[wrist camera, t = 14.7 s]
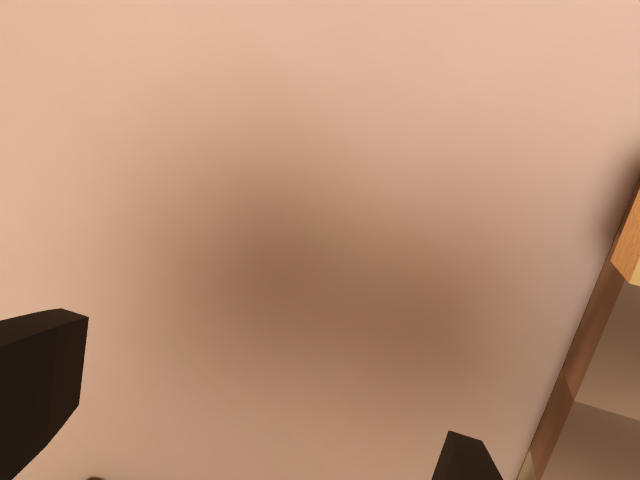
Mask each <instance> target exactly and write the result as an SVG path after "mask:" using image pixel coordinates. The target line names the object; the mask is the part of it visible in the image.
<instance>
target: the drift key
mask: <svg viewBox="0 0 640 480" xmlns="http://www.w3.org/2000/svg"><path fill="white" fill-rule="evenodd" d="M610 261H611V262H612V263H613V265H614V266H615V267H616V268H617V269H618V271H619V272H620V273H621V274H622V276H623V277H624V278H625V279H626V280H627V282H628V283H630V284H633V285H637V286H640V189H639V191H638V194H637V196H636V199H635V201H634V204H633V206H632V209H631V211H630V213H629V216H628V218H627V221H626V223H625V226H624V228H623V231H622V233H621V235H620V238H619V240H618V243H617V245H616V248H615V250H614V253H613V255H612V257H611V260H610Z"/></svg>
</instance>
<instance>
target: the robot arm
mask: <svg viewBox="0 0 640 480" xmlns="http://www.w3.org/2000/svg"><path fill="white" fill-rule="evenodd" d="M88 320H89V317H87V316H84V315H81V314H77V313H74V312H71V311H68V310H65V309H61V308H60V309H52V310H46V311H41V312H36V313H31V314H27V315H23V316H18V317H14V318H10V319H6V320H2V321H0V480H12V479H13V478H14V477H15V476H16V475H17V474H18V473H19V472H20V471H21V470H22V469H23V468H24V467H25V466H26V465H27V464H29V463H30V462H31V461H32V460H33V459H34V458H35V457H36V456H37V455H38V454H39V453H40V452H41V451H42V450H43V449H44V448H45V447H46V446H47V445H48V443H49V442H50V441H51V440H52V438H53V437H54V436H55V435H56V434H57V432H58V431H59V430H60V429H61V427H62V426H63V425H64V424H65V422H66V421H67V420H68V418H69V417H70V416H71V414H72V413H73V412H74V410H75V409H76V408H77V407H78V405H79V399H80V390H81V381H82V372H83V364H84V355H85V346H86V337H87V328H88ZM432 480H503V478H502V477H501V475H500V473H499V471H498V469H497V467H496V466H495V464H494V462H493V460H492V458H491V456H490V454H489V453H488V451H487V449H486V447H485V445H484V444H483V442H482V441H481V440H478V439H474V438H471V437H468V436H465V435H462V434H458V433H455V432H452V431H448V434H447V437H446V440H445V443H444V445H443V448H442V451H441V454H440V457H439V460H438V463H437V465H436V468H435V471H434V474H433V477H432Z"/></svg>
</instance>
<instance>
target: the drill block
mask: <svg viewBox="0 0 640 480" xmlns="http://www.w3.org/2000/svg"><path fill="white" fill-rule="evenodd" d="M639 189H640V178H639V180H638V183H637V185H636V188H635V190H634V193H633V195H632V198H631V200H630V202H629V205H628V207H627V210H626V212H625V215H624V217H623V220H622V222H621V225H620V227H619V230H618V232H617V234H616V237H615V239H614V242H613V244H612V247H611V249H610V252H609V254H608V257H607V259H606V262H605V264H604V266H603V269H602V271H601V274H600V276H599V279H598V281H597V284H596V286H595V289H594V291H593V294H592V296H591V298H590V301H589V303H588V306H587V308H586V311H585V313H584V316H583V318H582V321H581V323H580V326H579V328H578V330H577V333H576V335H575V338H574V340H573V343H572V345H571V348H570V350H569V353H568V355H567V358H566V360H565V362H564V365H563V367H562V370H561V372H560V375H559V377H558V380H557V382H556V385H555V387H554V390H553V392H552V394H551V397H550V399H549V402H548V404H547V407H546V409H545V412H544V414H543V417H542V419H541V422H540V424H539V426H538V429H537V431H536V434H535V436H534V439H533V441H532V444H531V446H530V449H529V451H528V454H527V456H526V458H525V461H524V463H523V466H522V468H521V471H520V473H519V476H518V478H517V480H640V286H637V285H633V284H630V283H628V282H627V280H626V279H625V278H624V277H623V276H622V274H621V273H620V272H619V271H618V269H617V268H616V267H615V266H614V265H613V263H612V262H611V261H610V260H611V257H612V255H613V253H614V250H615V248H616V245H617V243H618V240H619V238H620V235H621V233H622V231H623V228H624V226H625V223H626V221H627V218H628V216H629V213H630V211H631V209H632V206H633V204H634V201H635V199H636V196H637V194H638V191H639Z"/></svg>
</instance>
